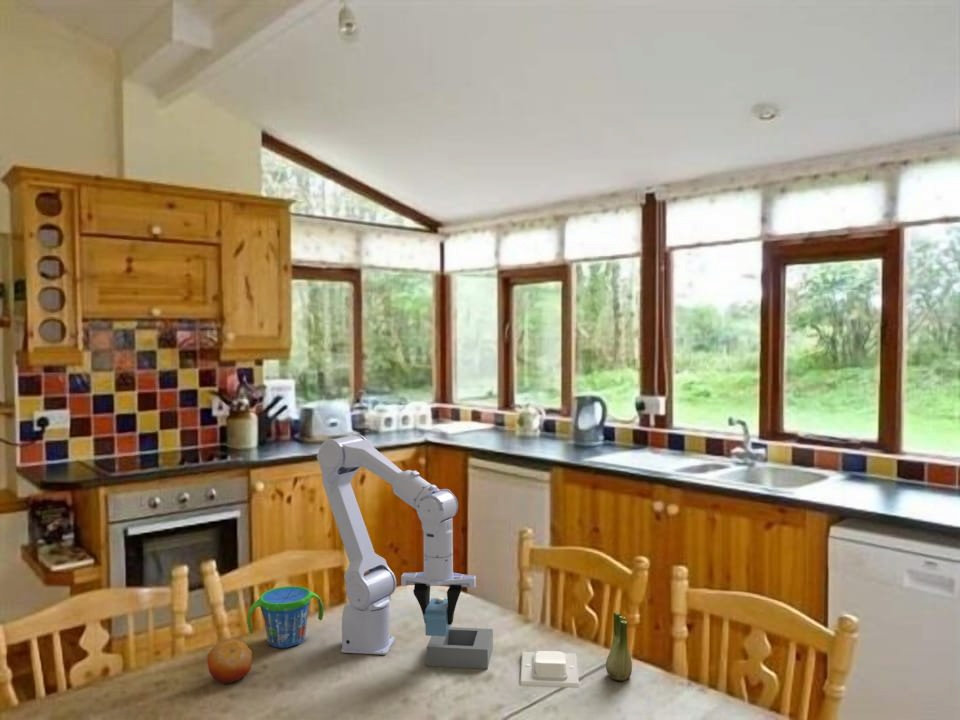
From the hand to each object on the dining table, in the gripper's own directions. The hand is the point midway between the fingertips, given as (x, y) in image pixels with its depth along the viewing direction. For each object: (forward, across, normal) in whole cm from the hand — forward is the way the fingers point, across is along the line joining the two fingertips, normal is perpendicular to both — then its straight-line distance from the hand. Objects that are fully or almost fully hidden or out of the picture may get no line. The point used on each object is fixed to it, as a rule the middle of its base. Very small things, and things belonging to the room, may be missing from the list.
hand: (438, 622), depth 145 cm
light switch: (+9, +22, 0) cm, 23 cm away
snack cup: (+9, -34, +6) cm, 36 cm away
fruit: (+9, -38, -11) cm, 41 cm away
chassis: (+8, +4, +4) cm, 10 cm away
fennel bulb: (+9, +35, -1) cm, 36 cm away
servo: (+1, 0, 0) cm, 1 cm away
